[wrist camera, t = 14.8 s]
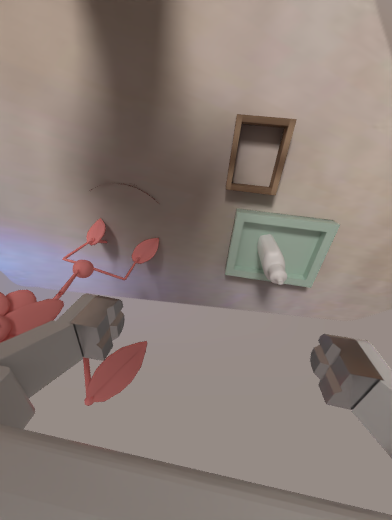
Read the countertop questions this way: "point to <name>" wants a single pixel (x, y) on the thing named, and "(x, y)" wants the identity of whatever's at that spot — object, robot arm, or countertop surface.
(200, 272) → the countertop surface
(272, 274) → the eye dropper bottle
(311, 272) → the tray
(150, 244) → the red leafy plant shape
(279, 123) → the walnut rectangular frame
